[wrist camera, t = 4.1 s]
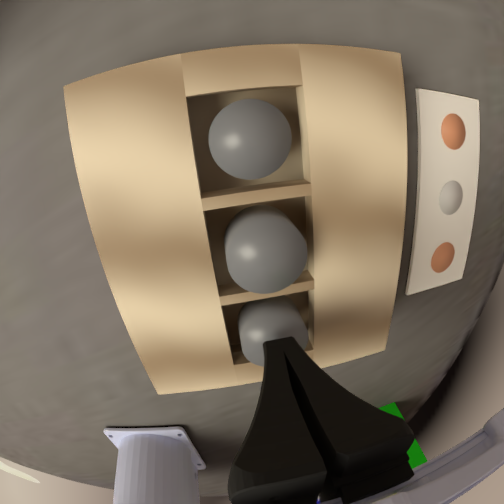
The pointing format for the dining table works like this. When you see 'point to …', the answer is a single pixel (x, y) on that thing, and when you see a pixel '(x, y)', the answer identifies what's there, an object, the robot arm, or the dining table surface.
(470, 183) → the card
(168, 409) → the dining table surface
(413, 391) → the dining table surface
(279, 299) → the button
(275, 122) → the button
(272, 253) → the middle button
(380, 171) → the button board
